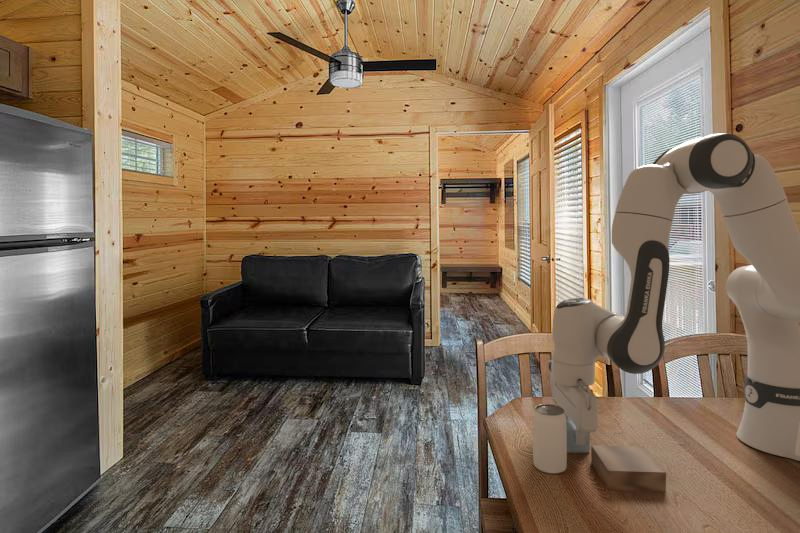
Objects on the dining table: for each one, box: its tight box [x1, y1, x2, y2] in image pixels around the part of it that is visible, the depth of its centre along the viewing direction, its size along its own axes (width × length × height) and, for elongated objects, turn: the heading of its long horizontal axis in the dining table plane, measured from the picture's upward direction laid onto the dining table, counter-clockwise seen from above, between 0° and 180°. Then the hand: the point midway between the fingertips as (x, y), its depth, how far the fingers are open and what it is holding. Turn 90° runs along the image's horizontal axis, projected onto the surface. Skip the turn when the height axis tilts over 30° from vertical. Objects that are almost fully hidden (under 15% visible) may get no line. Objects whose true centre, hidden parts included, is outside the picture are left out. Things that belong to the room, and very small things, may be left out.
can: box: [532, 403, 568, 475], centre depth 91 cm, size 6×6×12 cm
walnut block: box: [590, 444, 667, 493], centre depth 87 cm, size 10×10×4 cm
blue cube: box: [567, 420, 591, 453], centre depth 99 cm, size 5×5×5 cm
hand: (572, 433), depth 99 cm, fingers open, 8 cm apart
